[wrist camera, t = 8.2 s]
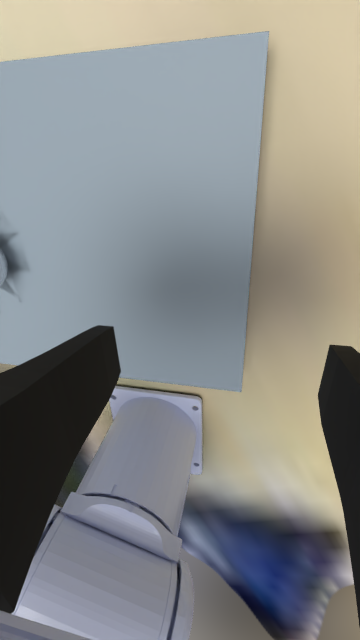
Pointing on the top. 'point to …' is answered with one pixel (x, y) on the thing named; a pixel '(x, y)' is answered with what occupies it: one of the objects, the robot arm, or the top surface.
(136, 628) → the robot arm
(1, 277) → the ball
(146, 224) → the deck
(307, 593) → the top surface
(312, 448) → the top surface
